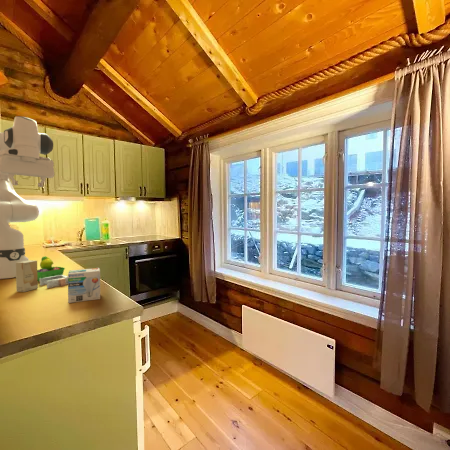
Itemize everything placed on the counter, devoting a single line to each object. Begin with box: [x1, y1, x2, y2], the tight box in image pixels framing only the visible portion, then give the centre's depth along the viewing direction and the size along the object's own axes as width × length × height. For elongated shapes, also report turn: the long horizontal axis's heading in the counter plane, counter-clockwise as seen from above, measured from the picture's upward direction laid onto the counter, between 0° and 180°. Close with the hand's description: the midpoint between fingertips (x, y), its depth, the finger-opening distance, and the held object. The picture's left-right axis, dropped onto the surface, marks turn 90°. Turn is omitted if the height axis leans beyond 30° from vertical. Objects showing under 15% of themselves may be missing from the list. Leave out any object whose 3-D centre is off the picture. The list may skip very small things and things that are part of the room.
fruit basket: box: [37, 256, 66, 282], centre depth 127 cm, size 11×9×11 cm
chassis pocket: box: [39, 274, 68, 289], centre depth 120 cm, size 18×13×3 cm
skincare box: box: [15, 259, 39, 293], centre depth 109 cm, size 6×4×12 cm
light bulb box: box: [67, 267, 101, 304], centre depth 97 cm, size 11×7×11 cm, turn 117°
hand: (28, 186), depth 114 cm, fingers open, 8 cm apart
